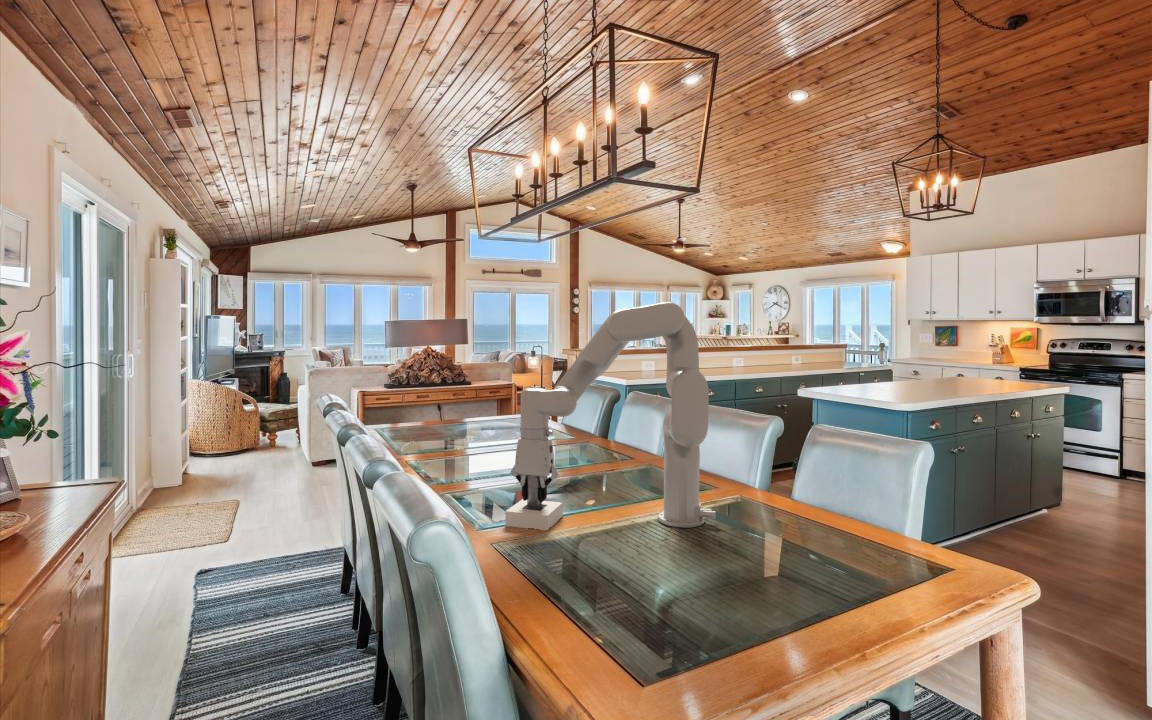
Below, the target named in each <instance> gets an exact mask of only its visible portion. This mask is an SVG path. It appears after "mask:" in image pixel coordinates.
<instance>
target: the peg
mask: <svg viewBox="0 0 1152 720" xmlns="http://www.w3.org/2000/svg"><path fill="white" fill-rule="evenodd" d="M540 487H541V483H540V478H539V476H534V475H527V510H537V511H541V510H542V502H539V488H540Z"/></svg>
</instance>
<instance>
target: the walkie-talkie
mask: <svg viewBox="0 0 1152 720" xmlns="http://www.w3.org/2000/svg"><path fill="white" fill-rule="evenodd" d="M522 499H523V496H522V490H517V491H516V492H514V505H515V504H516V503H518V502H519V501H520V500H522Z"/></svg>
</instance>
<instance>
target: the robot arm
mask: <svg viewBox="0 0 1152 720" xmlns="http://www.w3.org/2000/svg"><path fill="white" fill-rule="evenodd" d="M695 330H696V329H695V328H694V326H693V325H692V322H690V320H689V319H688V318H687V317H686V316H685V313H684V310H683V309H682V307H681V306H680V305H678V304H677V303H676V302H675V303H674V302H672V301H671V302H670V301H666V302H664V301H663V302H658V303H655V304H648V305H643V306H637V307H631V308H630V307H629V308H621V309H620V308H619V309H617V310H614V311H613V312H612V313H611V314H610V315H608V317H607V318H606V319H605V320H604V322H603V323H602V324H601V326H600V327H599V328H598V330H597V331H596V332H595V334H594V335H593V336H592V337H591V338H590V340H589V341H588V343H587V344H586V345H585V346H584V347H583V349H582V350H581V351H580V353H579V354H578V355H577V357H576V359H575V360H574V362H573V363H572V364H571V366H570V367H569V368H568V370H567V371H566V372H565V373H564V375H562V377H561V378H560V380H559V381H558V383H557V384H556V385H555V386H554V388H553V389H551V390H550V389H549V390H547V389H545V388H543V387H542V388H541V387H528V388H527V387H526V388H524V389H522V390H521V392H520V437H519V438H518V440H517V445H516V451H515V461H514V463H515V464H514V465H513V467H512V468H511V470H510V471H509V473H510V475H511V476H513V477H514V478H515V479H516V480H517V481H518V483H520V484H519V485H520V486H521V491H522V496H523V500H524V501H526V500H527V475H534V476H539V478H540V483H541V487H540V488H539V502H543V501H546V499H547V497H548V486H549V485H550V484H551V482H553V481H554V480H556V479H557V478H559V477H560V474H559V472H558V471H557V469H556V467H555V454H554V446H553V440H552V438H550V437H551V436H553V435H554V430H551V429H550V427H549V416H552V417H560V418H561V417H562V418H564V417H569V416H571V415H572V414H573V413H574V412H575V410H576V409H577V405H578V401H579V399H581V397H582V396H583V394H584V393H585V392H586V391H587V389H588V388H589V387H590V386H591V384H592V383H593V382H594V381H595V380H596V379H597V378H599V377H600V376H602V375H603V374H604V373H606V372H607V370H608V369H609V368H610V367H611V365H612V364H613V362H615V360H616V359H617V358H618V356H620V354H621V353H622V351H623V350H624V348H625V347H626V346H627V345H628V343H630V342H635V341H642V340H643V341H644V340H648V339H649V340H650V339H654V338H660V337H662V338H663V340H664V342H665V347H666V382H665V387H666V391H667V393H668V395H669V396H670V397H671V399H670V401H671V407H670V409H669V410H668V411H667V413H666V414H665V416H664V418H663V423H662V424H663V425H662V426H663V427H662V431H663V432H662V433H663V445H664V446H663V448H664V451H663V453H664V455H663V456H664V459H663V460H664V461H663V462H664V463H663V467H664V468H663V511H660V512H659V513H658V514H657V520H658V521H659V522H660V523H661V524H663V525H666V526H667V527H668V526H669V527H674V528H681V529H683V528H685V529H686V528H687V529H689V528H696V527H699V526H702V525H703V524H704V523H705V522H706V521H705V518H708V519H716V515H717V514H716V511H715V510H713V509H712V508H703V507H702V503H701V502H700V462H701V458H700V457H701V456H700V455H701V453H700V445H701V444H702V443H703V442H704V441H705V439H706V438H707V435H708V431H709V430H708V429H709V407H710V406H709V403H710V402H709V400H710V399H709V398H710V397H709V396H710V394H709V392H710V391H709V385H708V382H707V379H706V378H705V376H704V374H703V373H701V371H700V358H699V340H698V335H697V333H696V331H695ZM550 474H551V476H550ZM548 476H549V477H548Z"/></svg>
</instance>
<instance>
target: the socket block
mask: <svg viewBox="0 0 1152 720" xmlns="http://www.w3.org/2000/svg"><path fill="white" fill-rule="evenodd" d="M563 505H564V504H563V502H558V501H550V500H544V501H543V502H542V510H541V511H537V510H527V500H526V501H524V500H523V499H522V500H520V501H519V502H518V503H516V504H515V503H514V504H513V505H512V506H510V507H509V508H507V509H506V510H505V512H504V514H505V515H504V516H505V517H504V518H505V520H504V522H505V525H504V526H505V527H511V528H521V529H528V528H534V529H533V530H536V529H541V530H540V531H545V530H548V529H549V528H550V527H551V528H552V527H554V526H555V524H557V522H559V521H560V520H561V519H562V518H563V517H564V515H563V513H564V512H563V511H564V510H563V508H564V507H563ZM562 516H563V517H562ZM561 517H562V518H561ZM560 518H561V519H560ZM559 519H560V520H559ZM558 520H559V521H558ZM551 528H550V529H551ZM550 529H549V530H550ZM549 530H548V531H549Z"/></svg>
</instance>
